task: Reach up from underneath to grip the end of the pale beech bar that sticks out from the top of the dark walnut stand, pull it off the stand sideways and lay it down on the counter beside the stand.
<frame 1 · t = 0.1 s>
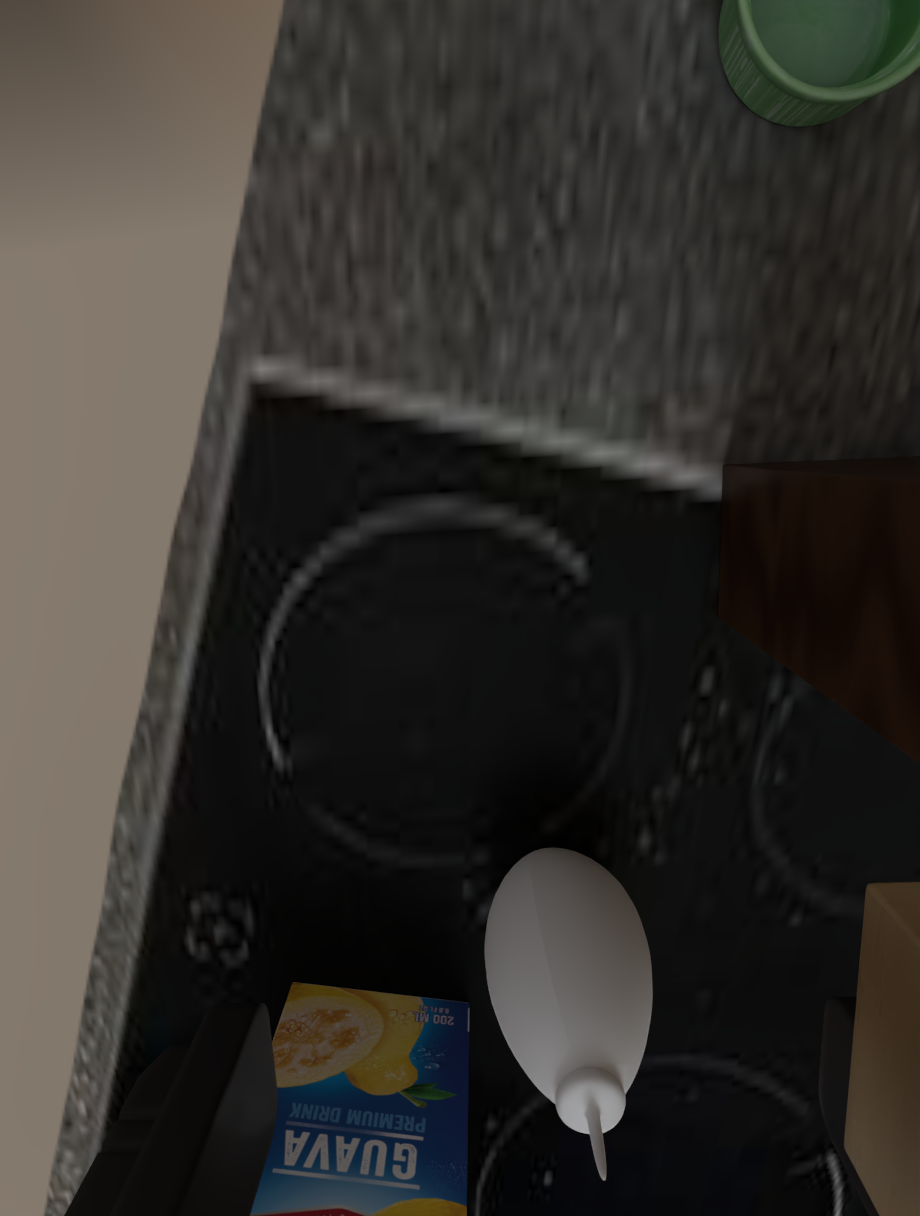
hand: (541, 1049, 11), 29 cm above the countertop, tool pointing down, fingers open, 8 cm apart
ramekin: (803, 33, 33), on the countertop
beverage box: (376, 1036, 45), on the countertop
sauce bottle: (551, 873, 43), on the countertop
walnut stand: (827, 538, 38), on the countertop
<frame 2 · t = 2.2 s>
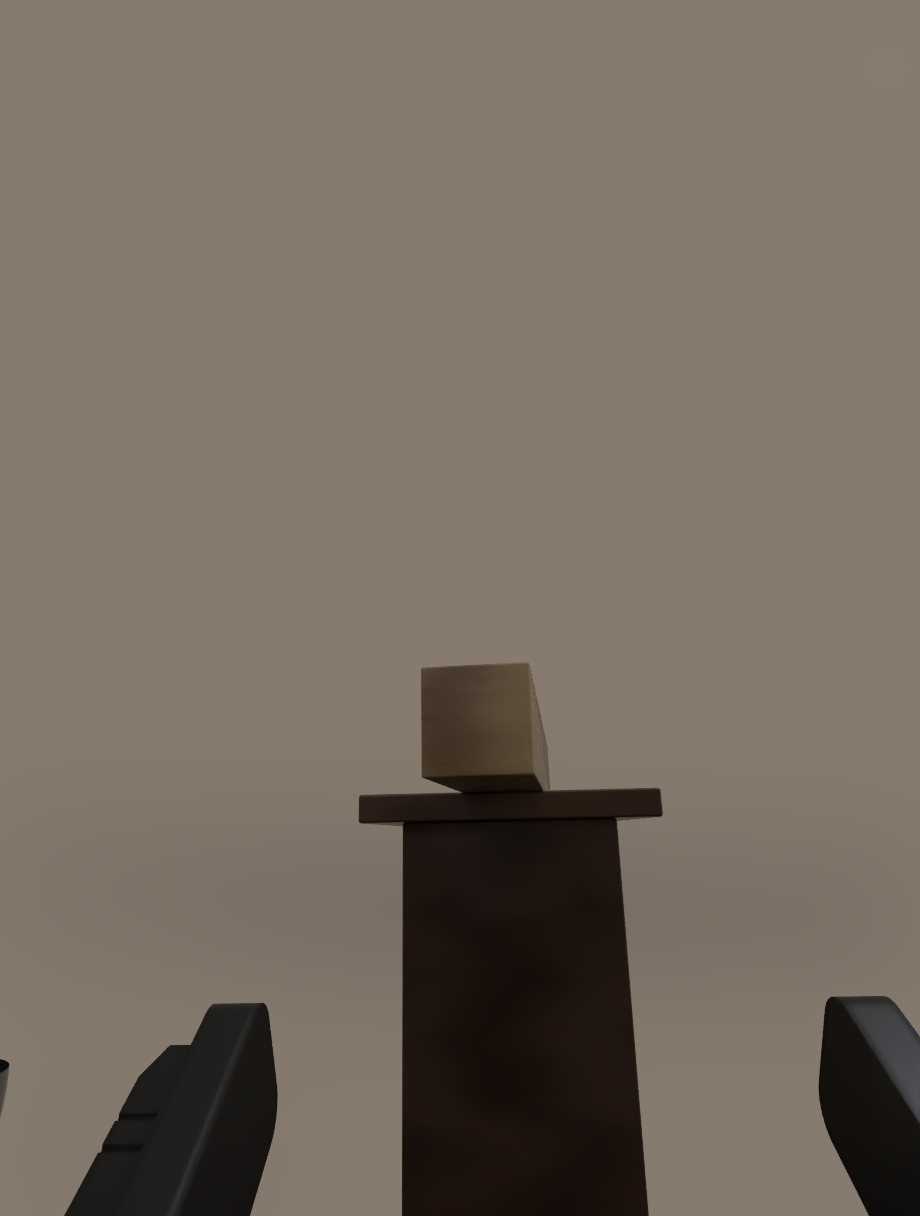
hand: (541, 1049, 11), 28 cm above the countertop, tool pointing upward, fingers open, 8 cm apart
beech bar: (507, 794, 29), point 32 cm above the countertop, touching walnut stand
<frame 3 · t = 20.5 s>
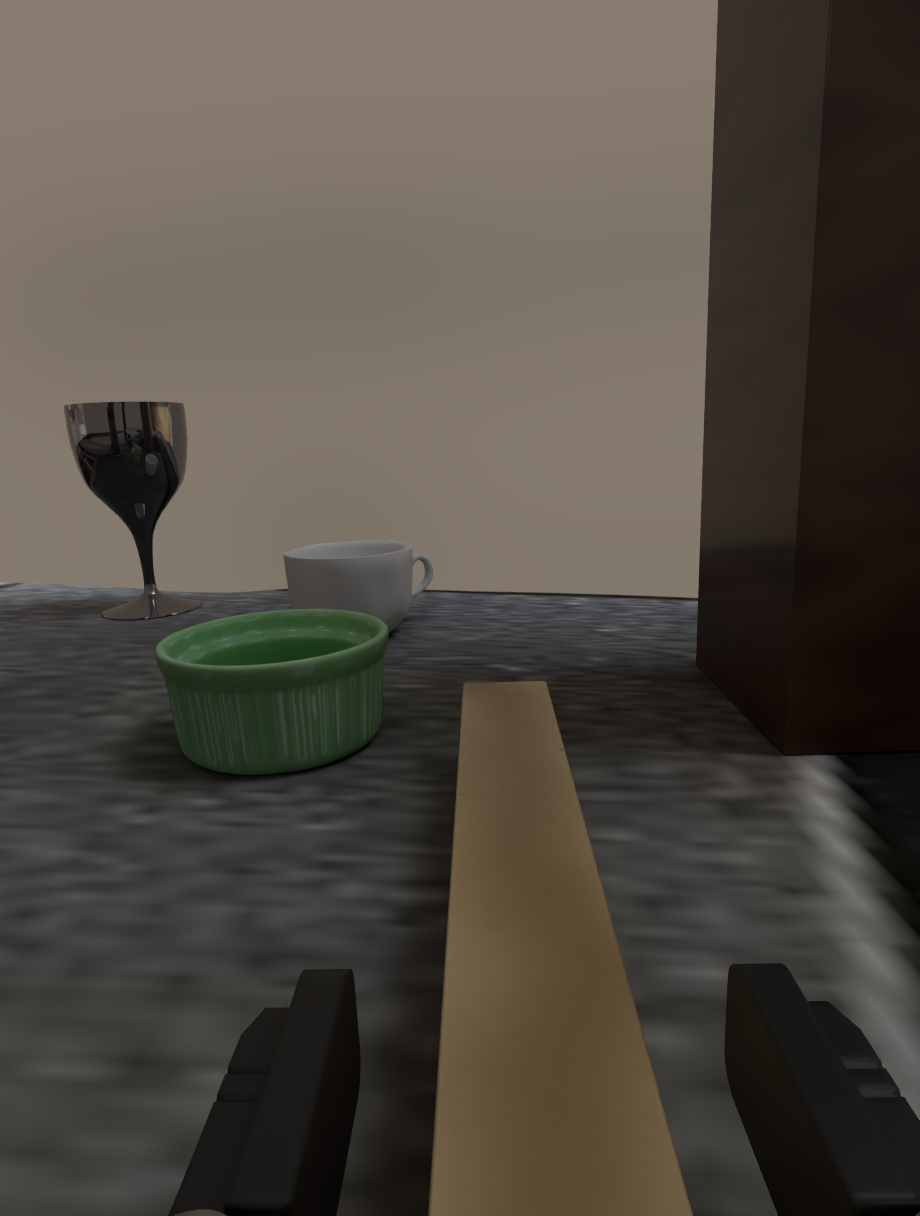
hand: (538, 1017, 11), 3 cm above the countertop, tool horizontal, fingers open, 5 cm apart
teacup: (370, 633, 47), on the countertop
ramekin: (285, 740, 30), on the countertop
wine glass: (153, 610, 56), on the countertop
walnut stand: (825, 699, 32), on the countertop
beech bar: (522, 951, 17), on the countertop
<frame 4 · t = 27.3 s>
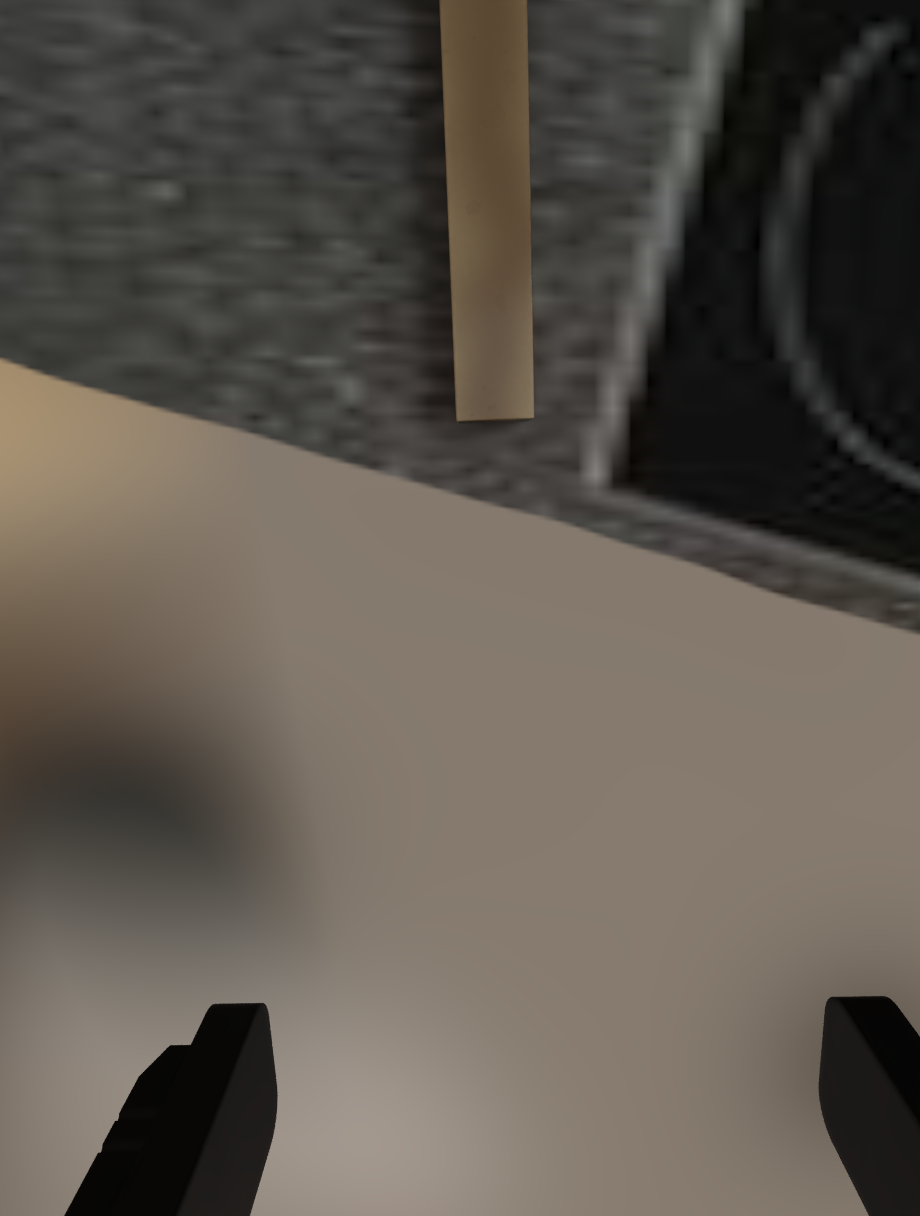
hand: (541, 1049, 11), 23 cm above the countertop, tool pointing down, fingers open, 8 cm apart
beech bar: (485, 145, 29), on the countertop
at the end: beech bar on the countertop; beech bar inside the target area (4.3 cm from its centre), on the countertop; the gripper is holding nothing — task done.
